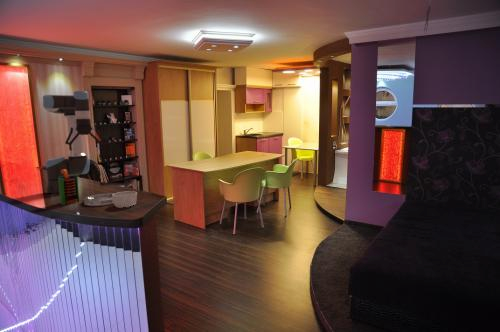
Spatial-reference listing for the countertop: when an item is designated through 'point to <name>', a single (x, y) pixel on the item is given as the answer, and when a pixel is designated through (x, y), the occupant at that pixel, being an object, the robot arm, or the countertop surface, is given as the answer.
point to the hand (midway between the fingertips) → (86, 155)
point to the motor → (68, 188)
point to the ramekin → (124, 199)
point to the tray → (98, 200)
